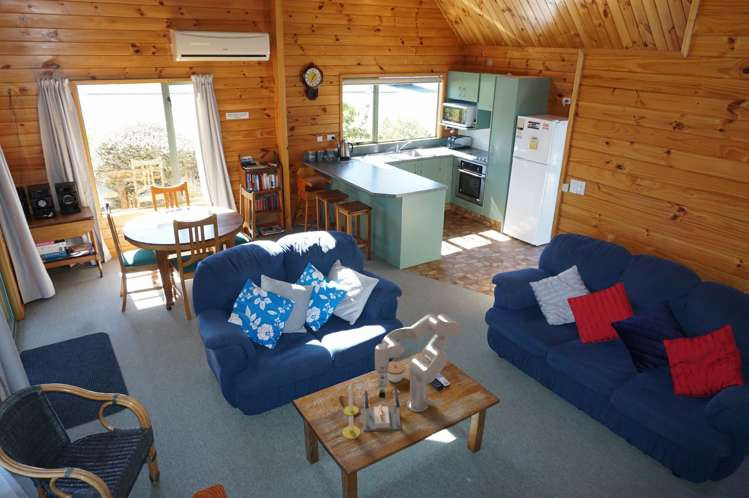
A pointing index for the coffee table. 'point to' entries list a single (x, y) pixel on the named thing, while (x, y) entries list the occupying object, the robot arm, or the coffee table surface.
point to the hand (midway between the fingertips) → (381, 392)
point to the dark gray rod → (397, 399)
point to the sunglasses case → (345, 402)
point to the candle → (351, 418)
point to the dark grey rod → (366, 400)
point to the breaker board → (391, 418)
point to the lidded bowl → (396, 371)
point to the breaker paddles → (380, 412)
